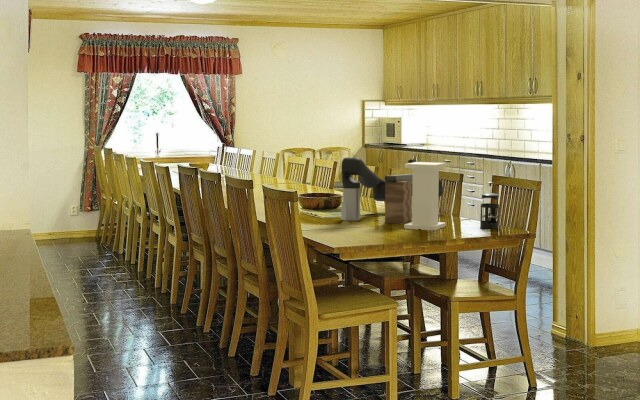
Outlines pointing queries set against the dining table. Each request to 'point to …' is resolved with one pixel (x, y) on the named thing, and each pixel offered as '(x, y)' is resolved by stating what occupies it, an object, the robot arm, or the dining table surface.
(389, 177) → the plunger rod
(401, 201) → the low block
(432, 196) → the tall stand
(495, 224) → the french press
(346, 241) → the dining table surface
